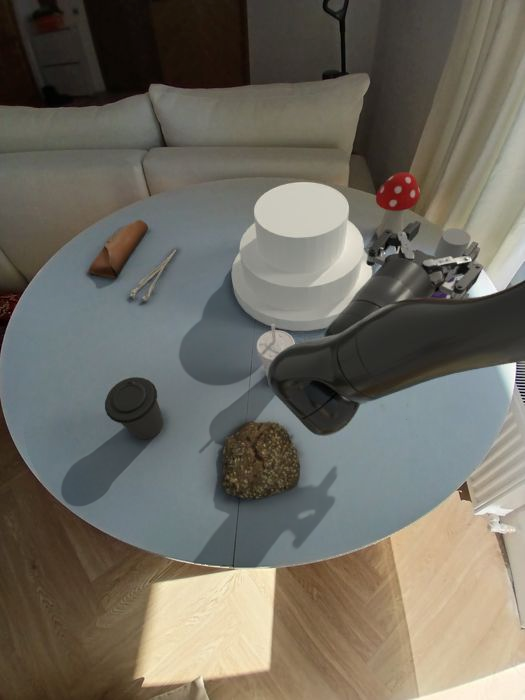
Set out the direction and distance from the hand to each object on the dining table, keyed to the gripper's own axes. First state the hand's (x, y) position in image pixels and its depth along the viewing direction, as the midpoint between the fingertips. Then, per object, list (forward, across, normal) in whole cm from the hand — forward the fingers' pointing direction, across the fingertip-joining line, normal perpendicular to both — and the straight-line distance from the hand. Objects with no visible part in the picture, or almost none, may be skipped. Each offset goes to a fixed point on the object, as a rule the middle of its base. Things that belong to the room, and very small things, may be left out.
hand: (444, 236), depth 57 cm
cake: (0, +26, +23) cm, 35 cm away
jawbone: (-18, +54, +23) cm, 61 cm away
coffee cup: (-44, +26, +23) cm, 56 cm away
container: (+8, 0, +20) cm, 22 cm away
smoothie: (-23, +14, +23) cm, 35 cm away
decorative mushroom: (+25, +19, +23) cm, 39 cm away
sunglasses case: (-18, +68, +22) cm, 74 cm away
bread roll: (-37, +7, +23) cm, 44 cm away
